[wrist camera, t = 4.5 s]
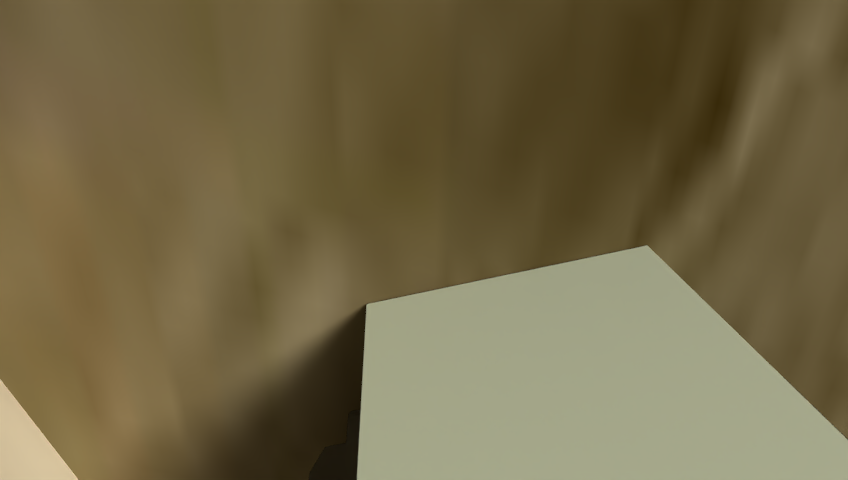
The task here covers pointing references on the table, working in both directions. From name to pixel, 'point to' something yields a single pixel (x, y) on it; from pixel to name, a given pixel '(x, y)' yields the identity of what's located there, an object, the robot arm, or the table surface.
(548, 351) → the sage block
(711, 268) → the table surface
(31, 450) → the birch block
